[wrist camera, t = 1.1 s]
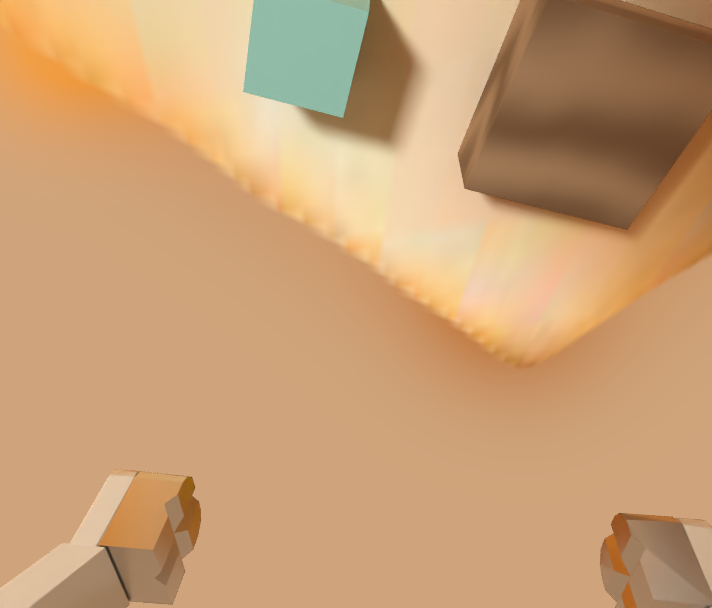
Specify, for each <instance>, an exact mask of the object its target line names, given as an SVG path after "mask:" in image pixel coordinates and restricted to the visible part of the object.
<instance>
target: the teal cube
mask: <svg viewBox="0 0 712 608" xmlns="http://www.w3.org/2000/svg"><path fill="white" fill-rule="evenodd" d="M369 8H370V0H254V3H253V12H252V21H251V29H250V38H249V47H248V56H247V64H246V73H245V82H244V91H243V92H246V93H250V94H253V95H257V96H261V97H265V98H269V99H272V100H276V101H280V102H284V103H288V104H292V105H295V106H299V107H303V108H307V109H311V110H314V111H318V112H322V113H326V114H330V115H334V116H337V117H341V118H343V116H344V112H345V108H346V104H347V100H348V96H349V92H350V88H351V84H352V80H353V75H354V71H355V67H356V63H357V59H358V55H359V51H360V47H361V43H362V39H363V35H364V31H365V27H366V22H367V18H368V14H369Z"/></svg>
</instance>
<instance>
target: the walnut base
mask: <svg viewBox="0 0 712 608" xmlns="http://www.w3.org/2000/svg"><path fill="white" fill-rule="evenodd" d="M711 111H712V29H710V28H706V27H703V26H700V25H697V24H694V23H690V22H687V21H684V20H681V19H678V18H674V17H671V16H668V15H665V14H661V13H658V12H655V11H652V10H649V9H645V8H642V7H639V6H636V5H633V4H629V3H626V2H623V1H620V0H521V1H520V3H519V6H518V8H517V10H516V13H515V15H514V18H513V20H512V23H511V25H510V27H509V30H508V32H507V35H506V37H505V40H504V42H503V45H502V47H501V49H500V52H499V54H498V57H497V59H496V62H495V64H494V67H493V69H492V71H491V74H490V76H489V79H488V81H487V84H486V86H485V88H484V91H483V93H482V96H481V98H480V101H479V103H478V106H477V108H476V110H475V113H474V115H473V118H472V120H471V123H470V125H469V128H468V130H467V132H466V135H465V137H464V140H463V142H462V145H461V147H460V149H459V152H458V157H459V162H460V167H461V172H462V178H463V183H464V188H465V189H468V190H472V191H476V192H480V193H484V194H487V195H491V196H495V197H499V198H503V199H507V200H511V201H515V202H519V203H523V204H527V205H531V206H535V207H539V208H543V209H547V210H551V211H555V212H559V213H563V214H567V215H571V216H575V217H579V218H583V219H587V220H591V221H595V222H599V223H603V224H607V225H611V226H615V227H619V228H622V229H626V230H627V229H628V228H629V226H630V225H631V224H632V222H633V221H634V219H635V218H636V217H637V215H638V214H639V212H640V211H641V209H642V208H643V207H644V205H645V204H646V202H647V201H648V200H649V198H650V197H651V195H652V194H653V193H654V191H655V190H656V188H657V187H658V185H659V184H660V183H661V181H662V180H663V178H664V177H665V176H666V174H667V173H668V171H669V170H670V169H671V167H672V166H673V164H674V163H675V161H676V160H677V159H678V157H679V156H680V154H681V153H682V152H683V150H684V149H685V147H686V146H687V144H688V143H689V142H690V140H691V139H692V137H693V136H694V135H695V133H696V132H697V130H698V129H699V128H700V126H701V125H702V123H703V122H704V120H705V119H706V118H707V116H708V115H709V113H710V112H711Z"/></svg>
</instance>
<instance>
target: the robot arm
mask: <svg viewBox="0 0 712 608" xmlns="http://www.w3.org/2000/svg"><path fill="white" fill-rule="evenodd" d="M194 490H195V485H194V482H193V478H192V477H189V476H179V475H170V474H161V473H151V472H142V471H133V470H122V469H116V470H115V471H114V472H113V473H112V474H111V475H109V476H108V478H107V480H106V482H105V483H104V485H103V487H102V488H101V490H100V492H99V494H98V495H97V497H96V499H95V501H94V502H93V504H92V506H91V508H90V509H89V511H88V513H87V514H86V516H85V518H84V520H83V521H82V523H81V525H80V527H79V528H78V530H77V532H76V534H75V535H74V537H73V539H72V541H71V542H70V543H62V544H60V545H59V546H58V547H56V548H55V549H54V550H52V551H51V552H49V553H48V554H47V555H45V556H44V557H43V558H41V559H40V560H38V561H37V562H36V563H34V564H33V565H31V566H30V567H29V568H27V569H26V570H25V571H23V572H22V573H21V574H19V575H18V576H16V577H15V578H14V579H12V580H11V581H10V582H8V583H7V584H5V585H4V586H3V587H1V588H0V608H126V607H128V606H129V604H130V603H129V601H131V602H143V603H157V604H170V605H172V604H173V602H174V600H175V597H176V594H177V592H178V589H179V586H180V584H181V581H182V579H183V576H184V573H185V569H184V566H183V562H182V559H183V558H184V557H185V556H186V555H187V554H189V553H190V552H191V551H192V550H193V549H194V546H195V543H196V540H197V537H198V534H199V528H200V523H201V508H200V504H199V501H198V500H196V499H195V498H194V497H193V496H192V494H193V492H194ZM611 526H612V529H613V533H614V534H612V535H610V536H608V537H606V538H605V539H604V542H603V545H602V548H601V554H600V567H601V575H602V579H603V583H604V587H605V590H606V591H607V592H608V593H609V595H610V596H611V597H612V598H613V599H614V600H615V601H616V602H617V605H616V607H615V608H712V527H711V525H709V523H708V522H707V521H704V520H699V519H683V518H673V517H668V516H655V515H641V514H627V513H619V514H617V515H615V517H614V519H613V521H612V523H611Z"/></svg>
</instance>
